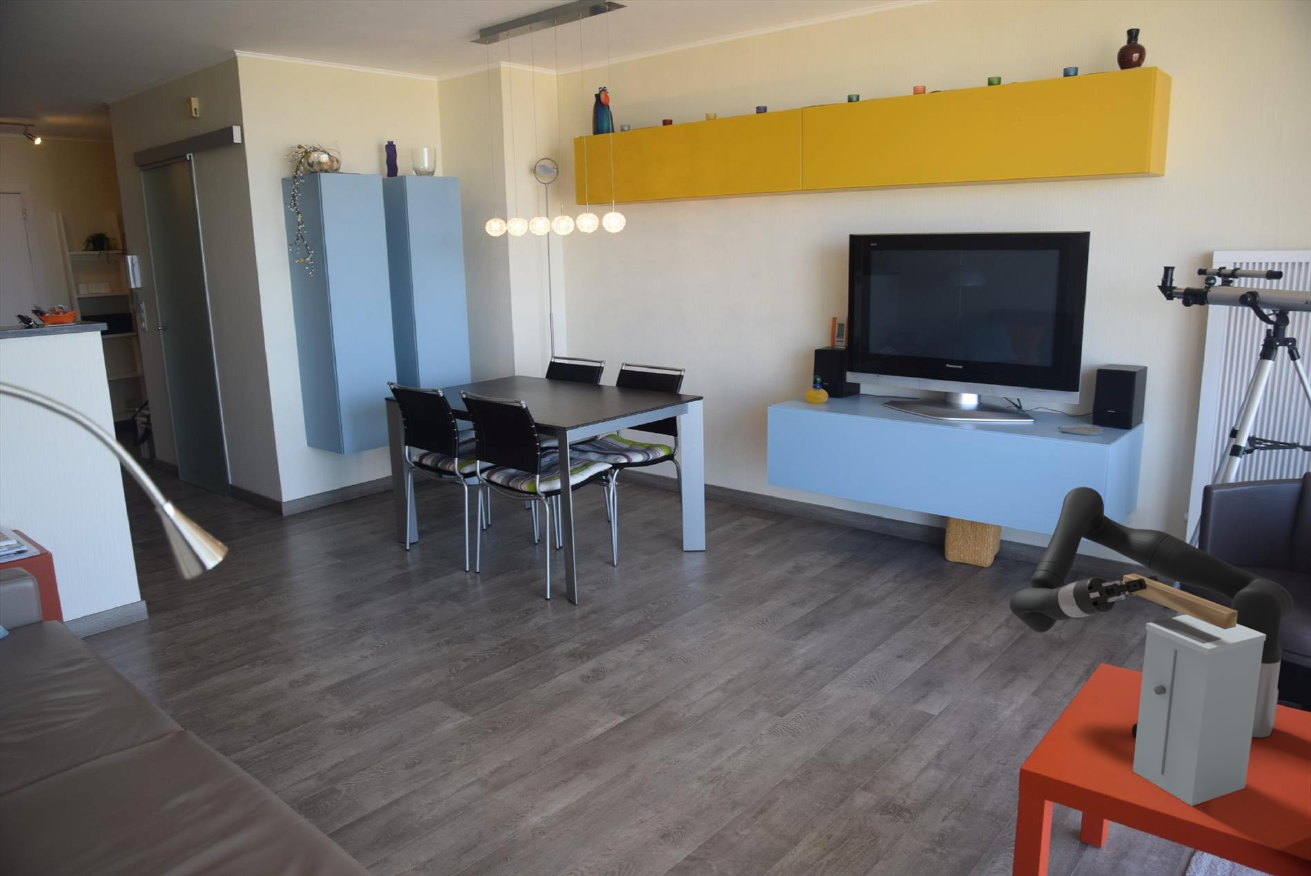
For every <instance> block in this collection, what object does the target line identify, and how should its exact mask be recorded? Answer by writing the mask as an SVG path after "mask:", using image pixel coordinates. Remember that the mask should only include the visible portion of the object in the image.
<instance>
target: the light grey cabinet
mask: <svg viewBox="0 0 1311 876" xmlns="http://www.w3.org/2000/svg"><path fill="white" fill-rule="evenodd" d="M1145 630H1146V638H1145V648H1144V654H1143V655H1144V656H1143V664H1142V665H1143V666H1142V675H1141V685H1140V696H1139V706H1138V707H1139V708H1138V714H1137V715H1138V717H1137V722H1138V724H1137V723H1136V724H1137V734H1136V739H1135V746H1134V755H1133V756H1134V757H1133V766H1132V772H1133V773H1135V774H1137V776H1140V777H1142V778H1143V779H1145V780H1147V781H1149V782H1150V783H1152V784H1154V785H1155V786H1157V787H1159V788H1160V789H1162V790H1164V791H1165V792H1167V793H1169V794H1170V795H1172V796H1174V797H1176V798H1177V799H1179V800H1181V801H1183V803H1186V804H1187V805H1189V806H1190V807H1192V806H1195V805H1199V804H1202V803H1204V802H1208V801H1211V800H1213V799H1216V798H1217V799H1218V798H1219V797H1222V796H1225V795H1228V794H1231V793H1235V792H1237V791H1240V790H1243V789H1245V788H1246V784H1247V776H1248V767H1249V761H1250V760H1249V759H1250V752H1251V746H1252V745H1251V743H1252V739H1253V737H1252V730H1253V723H1254V715H1255V707H1256V699H1257V691H1258V684H1259V676H1260V668H1261V660H1262V652H1263V645H1264V641H1265V640H1266V634H1263V633H1260V632H1258V631H1255V630H1252V629H1250V628H1247V627H1244V626H1242V625H1239V624H1236V627H1233V628H1229V629H1222V628H1220V627H1217V626H1214V625H1212V624H1209V623H1207V622H1204V621H1202V620H1199V619H1197V618H1194V617H1191V616H1189V615H1186V614H1182V615H1178V616H1177V615H1176V616H1174V617H1169V618H1168V617H1167V618H1163V619H1159V620H1154V621H1150V622H1147V623H1145Z"/></svg>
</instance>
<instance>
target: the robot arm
mask: <svg viewBox="0 0 1311 876" xmlns="http://www.w3.org/2000/svg"><path fill="white" fill-rule="evenodd" d="M1082 538H1083V539H1086V540H1088V541H1090V542H1093V543H1095V544H1098V545H1101V546H1103V547H1105V548H1108V549H1110V550H1111V551H1112V550H1113V551H1115V552H1116V553H1118V554H1119V555H1122V556H1123V557H1127V558H1128V559H1130V560H1132V561H1134V562H1135V563H1136V562H1137V563H1138V564H1140V565H1142V566H1143V567H1146V568H1147V569H1149V570H1151V571H1153V572H1155V573H1157V574H1159V575H1161V576H1163V577H1164V578H1165V579H1168V580H1171V581H1173V582H1177V583H1180V584H1184V585H1188V586H1192V587H1195V588H1201V589H1204V590H1208V591H1210V592H1211V591H1212V592H1214V593H1217V594H1219V595H1222V596H1224V597H1225V598H1227V599H1229V600H1230V601H1232V602H1231V608H1230V609H1233V610H1235V611H1238V614H1237V622H1236V624H1239V625H1242V626H1244V627H1247V628H1250V629H1252V630H1255V631H1258V632H1260V633H1263V634H1266V640H1265V641H1264V645H1263V652H1262V660H1261V668H1260V676H1259V684H1258V691H1257V699H1256V707H1255V715H1254V723H1253V730H1252V738H1267V737H1269V736H1270V735H1272V730H1274V728H1275V720H1276V714H1277V713H1276V712H1277V706H1278V699H1279V689H1278V683H1279V676H1280V669H1281V660H1282V655H1283V648H1282V646H1281V645H1280V643H1279V636H1280V627H1281V622H1283V621H1284V620H1285V619H1286V618H1288V617H1289V616H1290V615H1291V614H1292V612H1293V610H1294V607H1295V606H1294V605H1295V604H1294V600H1293V597H1292V595H1291V594H1290V592H1289V591H1288V590H1287V589H1286V588H1285V587H1284V586H1283V585H1281V584H1280V583H1277V582H1275V581H1273V580H1271V579H1268V578H1266V577H1262V576H1261V575H1257V574H1255V573H1252V572H1250V571H1247V570H1245V569H1241V568H1239V567H1237V566H1234V565H1232V564H1230V563H1228V562H1225V561H1223V560H1222V559H1220V558H1218V557H1216V556H1214V555H1212V554H1210V553H1208V552H1206V551H1204V550H1202V549H1200V548H1197V547H1196V546H1194V545H1192V544H1190V543H1188V542H1187V541H1184V540H1183V539H1180V538H1178V537H1176V536H1173V535H1171V534H1169V533H1167V532H1165V531H1161V530H1157V529H1149V528H1145V529H1143V528H1132V527H1128V526H1125V525H1123V524H1121V523H1119V522H1116V521H1115V520H1113V519H1111V518H1110V517H1108V516H1107V515H1105V504H1104V500H1103V497H1102V495H1101V494H1100V493H1099V492H1098V491H1097V490H1096V489H1094V488H1092V487H1087V486H1079V487H1076V488H1073V489H1071V490H1069V491H1068V492H1067V493H1066V495H1065V496H1064V499H1063V502H1062V507H1061V510H1060V514H1059V517H1058V521H1057V524H1056V526H1055V529H1054V531H1053V534H1052V536H1051V538H1050V541H1049V543H1048V545H1047V546H1046V548H1045V550H1044V553H1043V555H1042V556H1041V559H1040V561H1039V562H1038V564H1037V566H1036V568H1035V570H1034V573H1033V574H1032V576H1031V579H1030V585H1031V587H1027V588H1026V587H1025V588H1022V589H1020V590H1018V591H1016V592H1015V593H1014V594H1013V595H1012V597H1011V598H1010V601H1009V608H1010V610H1011V612H1012V614H1013V615H1014V616H1015V617H1017V618H1018V619H1019V620H1020V621H1022V622H1023V623H1024V624H1025V625H1026V626H1028V628H1030V629H1031V630H1033V631H1034V632H1036V633H1040V634H1041V633H1045V632H1048V631H1049V630H1051V629H1052V628H1054V626H1055V624H1056V623H1057V621H1065V620H1070V619H1074V618H1082V617H1083V618H1084V617H1085V618H1086V617H1088V616H1093V615H1097V614H1103V613H1107V612H1110V611H1111V610H1113V608H1114V607H1115V606H1116V602H1117V601H1121V600H1125V599H1126V598H1127V597H1133V596H1136V595H1135V594H1133V593H1131V592H1136V591H1140V590H1144V589H1146V588H1147V586H1146V583H1145V580H1144V579H1143V578H1141V579H1136V580H1132V581H1128V582H1124V581H1123V579H1122V580H1114V581H1113V580H1112V581H1108V580H1107V579H1105V578H1103V577H1101V576H1093V577H1089V578H1084V579H1081V580H1078V581H1077V580H1076V581H1075V582H1071V583H1068V584H1066V582H1067V581H1068V579H1069V576H1070V574H1071V572H1072V570H1073V566H1074V563H1075V559H1076V556H1077V553H1078V549H1079V547H1080V544H1081V543H1080V542H1081V540H1082ZM1146 578H1148V579H1151V580H1153V581H1156V582H1159V583H1160V581H1159V578H1158V577H1157V576H1156V575H1151V576H1147V577H1146ZM1065 584H1066V585H1065Z"/></svg>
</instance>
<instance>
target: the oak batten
mask: <svg viewBox="0 0 1311 876" xmlns="http://www.w3.org/2000/svg"><path fill="white" fill-rule="evenodd" d="M1141 578H1143V579H1144V580H1145V583H1146V586H1147V588H1146V589H1144V590H1140V591H1136V592H1131V593H1133V594H1135V595H1134V596H1137V597H1141V598H1142V599H1146V600H1147V601H1151V602H1153V603H1155V604H1159V605H1161V606H1163V607H1167V608H1169V609H1171V610H1174V611H1176V612H1178V613H1179V612H1180V613H1181V614H1183V615H1189V616H1191V617H1194V618H1197V619H1199V620H1202V621H1204V622H1207V623H1209V624H1212V625H1214V626H1217V627H1220V628H1222V629H1229V628H1233V627H1236V622H1237V614H1238V611H1235V610H1233V609H1231V608H1230V607H1227V606H1224V605H1221V604H1218V603H1216V602H1213V601H1212V600H1211V601H1210V600H1209V599H1205V598H1203V597H1200V596H1197V595H1194V594H1191V593H1190V592H1187V591H1184V590H1181V589H1178V588H1176V587H1173V586H1169V585H1167V584H1164V583H1161V582H1160V581H1159V582H1156V581H1153V580H1151V579H1148V578H1147V577H1145V576H1143V575H1140V574H1138V573H1134V572H1133V573H1130V574H1124V575H1123V579H1122V580H1123V581H1124V582H1128V581H1132V580H1136V579H1141Z"/></svg>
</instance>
